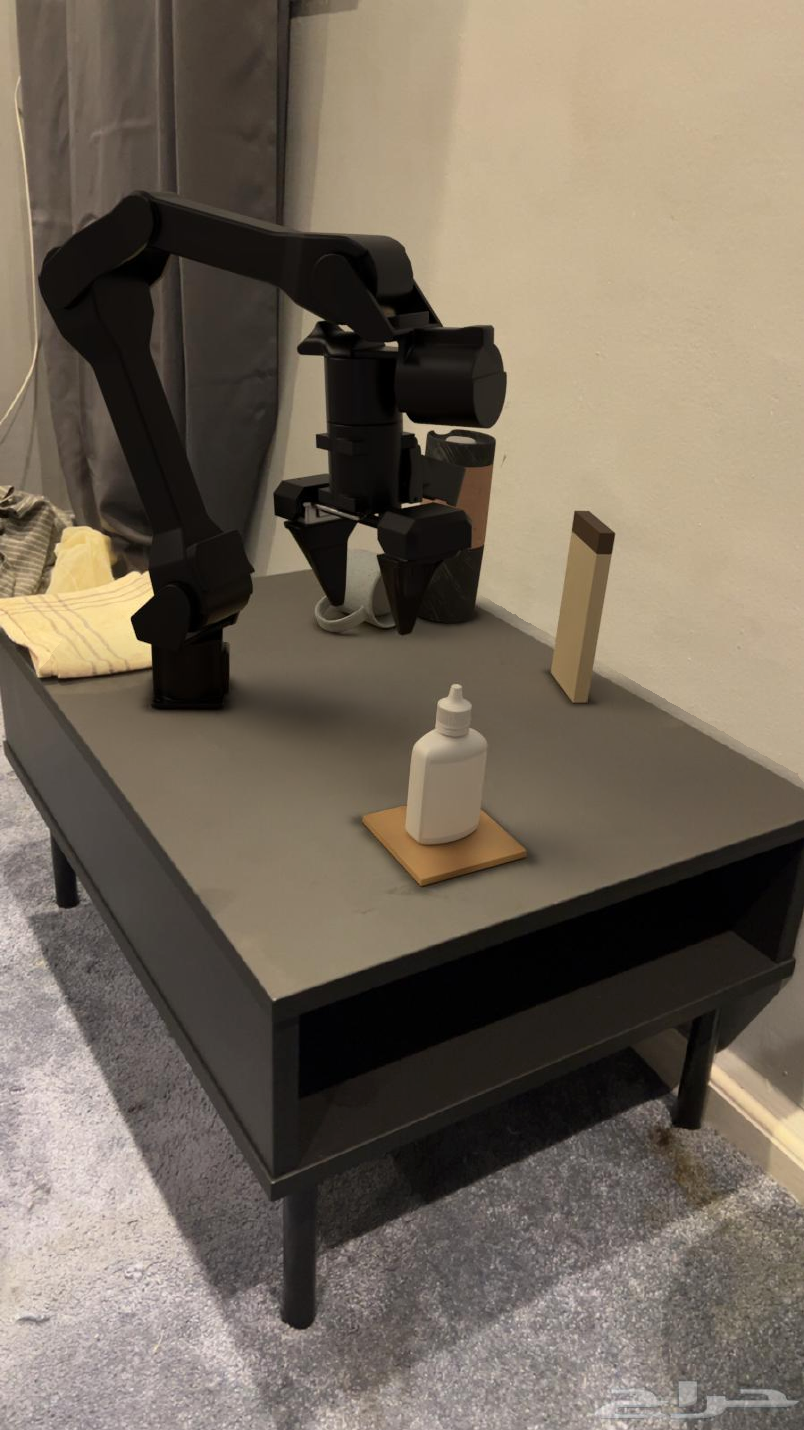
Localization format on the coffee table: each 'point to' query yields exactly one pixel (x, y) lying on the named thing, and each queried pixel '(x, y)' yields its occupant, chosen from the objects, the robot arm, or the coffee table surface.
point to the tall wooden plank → (582, 604)
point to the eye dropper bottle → (447, 775)
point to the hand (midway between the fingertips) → (370, 619)
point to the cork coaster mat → (443, 847)
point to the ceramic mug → (360, 595)
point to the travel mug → (460, 575)
